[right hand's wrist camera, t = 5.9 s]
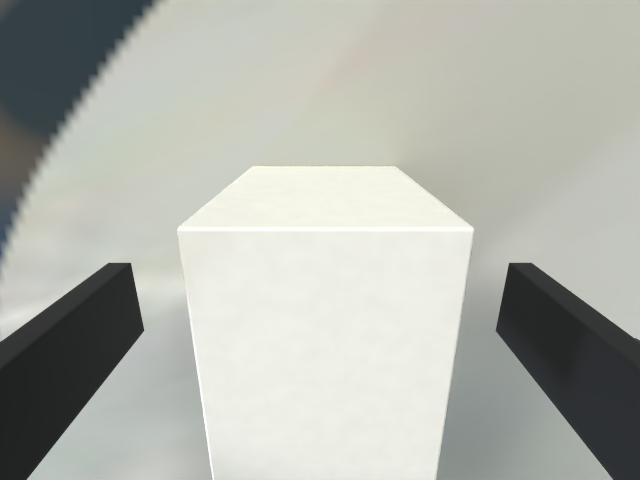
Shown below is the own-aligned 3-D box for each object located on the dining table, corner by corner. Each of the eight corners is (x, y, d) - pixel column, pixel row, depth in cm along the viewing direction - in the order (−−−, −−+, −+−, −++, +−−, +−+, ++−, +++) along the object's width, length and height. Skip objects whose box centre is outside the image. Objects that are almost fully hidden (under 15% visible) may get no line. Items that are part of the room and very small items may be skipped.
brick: (262, 336, 18) (216, 512, 10) (251, 166, 15) (174, 227, 7) (384, 336, 18) (432, 513, 10) (396, 166, 15) (477, 228, 7)
